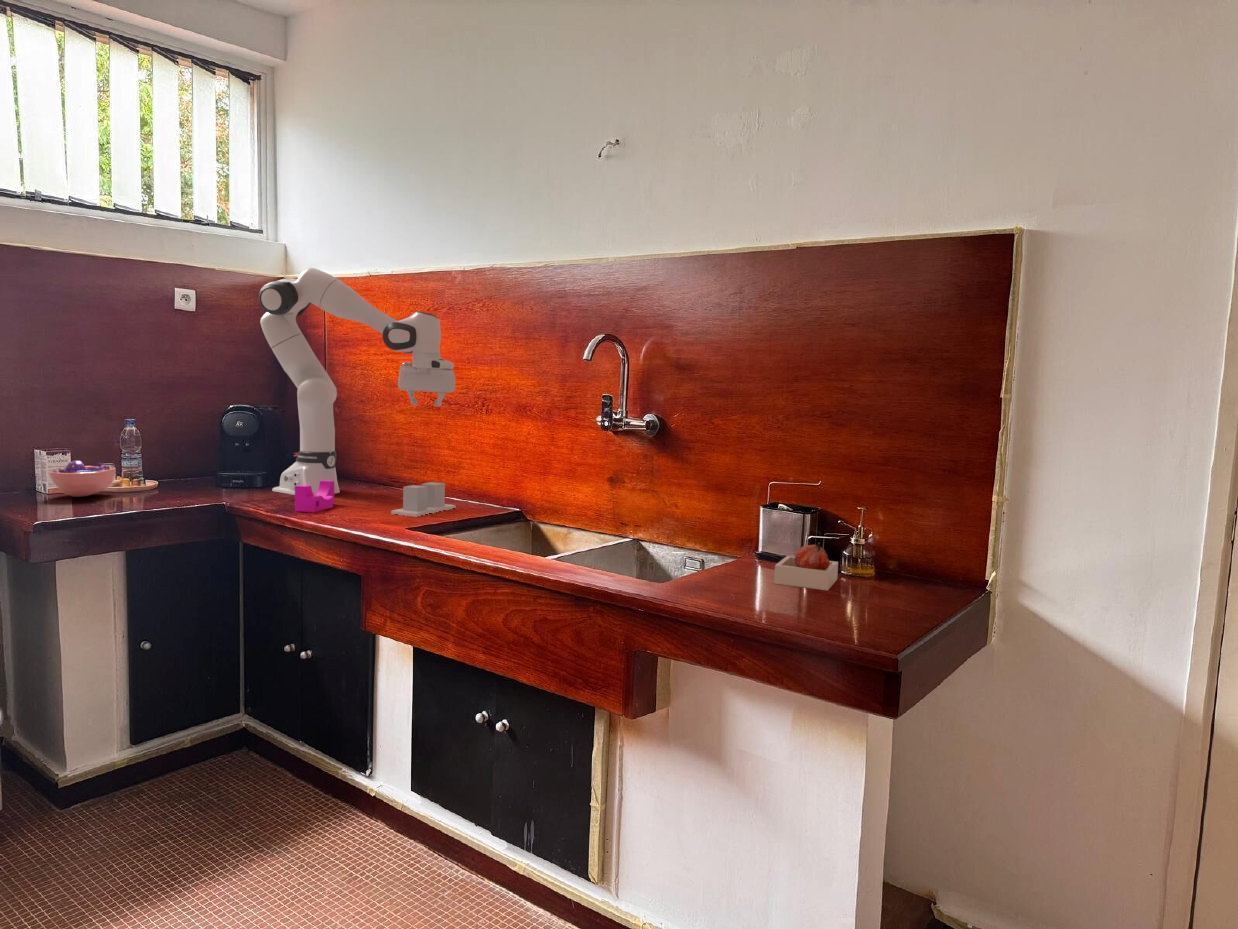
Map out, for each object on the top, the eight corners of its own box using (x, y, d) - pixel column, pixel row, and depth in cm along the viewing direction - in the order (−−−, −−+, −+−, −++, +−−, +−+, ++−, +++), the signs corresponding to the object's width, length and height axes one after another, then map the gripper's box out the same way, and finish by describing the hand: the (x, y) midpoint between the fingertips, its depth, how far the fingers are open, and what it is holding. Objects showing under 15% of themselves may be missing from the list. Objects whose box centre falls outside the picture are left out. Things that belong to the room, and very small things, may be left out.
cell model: (131, 492, 280) (131, 457, 278) (83, 501, 260) (82, 463, 259) (85, 489, 282) (84, 455, 281) (34, 498, 263) (32, 460, 262)
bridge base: (391, 514, 257) (391, 487, 257) (431, 505, 276) (431, 480, 275) (416, 517, 254) (416, 489, 253) (455, 508, 272) (455, 482, 271)
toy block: (313, 512, 257) (313, 487, 256) (294, 511, 258) (294, 485, 257) (341, 505, 271) (341, 481, 271) (323, 504, 273) (323, 480, 272)
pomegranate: (783, 572, 193) (795, 532, 190) (813, 574, 195) (825, 534, 192) (797, 589, 187) (809, 548, 183) (827, 591, 188) (840, 550, 185)
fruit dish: (773, 583, 188) (774, 565, 188) (786, 573, 198) (787, 555, 198) (827, 590, 183) (828, 572, 183) (837, 579, 194) (838, 561, 193)
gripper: (394, 361, 283) (393, 404, 284) (446, 363, 275) (446, 407, 276) (406, 362, 289) (405, 403, 290) (458, 363, 281) (457, 406, 282)
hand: (426, 405), depth 283 cm, fingers open, 8 cm apart
